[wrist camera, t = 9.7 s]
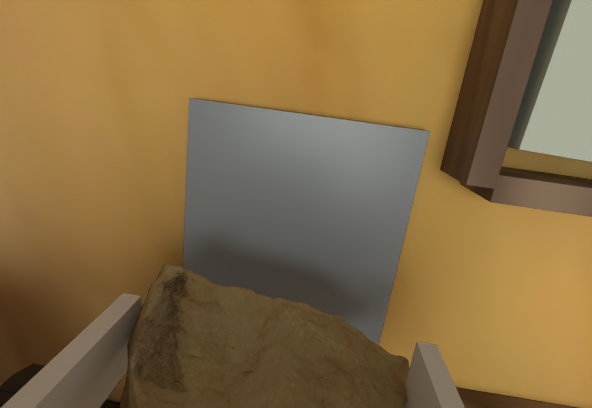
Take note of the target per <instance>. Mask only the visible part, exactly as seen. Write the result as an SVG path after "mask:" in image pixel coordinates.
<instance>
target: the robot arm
mask: <svg viewBox="0 0 592 408" xmlns="http://www.w3.org/2000/svg"><path fill="white" fill-rule="evenodd" d="M140 312H141V296H139V295H133V294H127V293H123V294H122V295H121V296H119V297H118V298H117V299H116V300H115V301H114V302H113V303H112V304H111V305H110V306H109V307H108V308H107V309H106V310H104V311H103V312H102V313H101V314H100V315H99V316H98V317H97V318H96V319H95V320H94V321H93V322H92V323H91V324H90V325H88V326H87V327H86V328H85V329H84V330H83V331H82V332H81V333H80V334H79V335H78V336H77V337H76V338H75V339H74V340H72V341H71V342H70V343H69V344H68V345H67V346H66V347H65V348H64V349H63V350H62V351H61V352H60V353H59V354H58V355H56V356H55V357H54V358H53V359H52V360H51V361H50V362H49V363H48V364H47V365H46V366H43V365H38V364H32V365H30V366H28V367H26V368H25V369H23V370H21V371H19V372H17V373H16V374H14V375H12V376H11V377H10V378H9V379H8V380H7V381H6V382H4V383H3V384H2V385H1V386H0V408H120V405H119V404H115V403H111V402H106V401H105V400H106V399H107V397H108V396H109V395H110V393H111V392H112V391H113V389H114V388H115V387H116V385H117V384H118V383H119V381H120V380H121V378H122V377H123V376H124V374H125V373H126V372H127V367H128V351H127V344H128V341H129V338H130V335H131V333H132V330H133V328H134V325H135V323H136V320H137V318H138V316H139V314H140ZM405 388H406V392H407V401H406V404H405V408H465V407H464V405H463V402H462V400H461V398H460V396H459V394H458V391H457V389H456V387H455V385H454V382H453V380H452V378H451V376H450V374H449V371H448V369H447V367H446V365H445V363H444V360H443V358H442V356H441V354H440V351H439V349H438V347H437V345H435V344H429V343H423V342H417V343H416V347H415V350H414V354H413V357H412V361H411V365H410V368H409V372H408V375H407V379H406V382H405Z"/></svg>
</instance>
